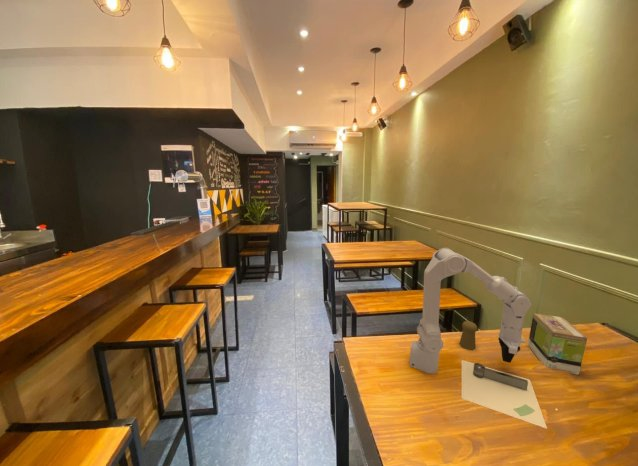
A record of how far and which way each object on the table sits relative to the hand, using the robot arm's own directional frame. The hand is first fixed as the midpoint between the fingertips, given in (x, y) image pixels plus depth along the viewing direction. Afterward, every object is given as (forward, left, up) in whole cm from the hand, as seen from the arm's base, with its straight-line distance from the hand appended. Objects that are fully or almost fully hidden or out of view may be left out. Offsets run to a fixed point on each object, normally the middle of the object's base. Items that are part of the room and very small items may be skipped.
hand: (506, 360), depth 87 cm
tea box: (+17, +19, -6) cm, 26 cm away
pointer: (-2, -6, -4) cm, 8 cm away
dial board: (-3, -10, -6) cm, 12 cm away
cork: (-11, +11, -6) cm, 17 cm away
